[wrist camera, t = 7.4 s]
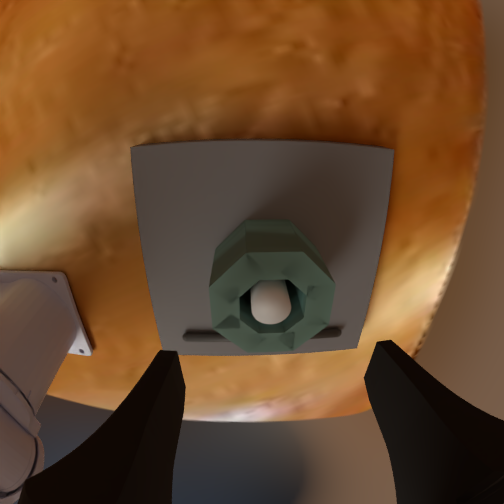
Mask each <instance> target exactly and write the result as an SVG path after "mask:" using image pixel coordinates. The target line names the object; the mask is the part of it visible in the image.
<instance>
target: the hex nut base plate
mask: <svg viewBox="0 0 504 504" xmlns="http://www.w3.org/2000/svg"><path fill="white" fill-rule="evenodd" d="M130 148H131V162H132V174H133V184H134V194H135V203H136V211H137V219H138V226H139V233H140V240H141V246H142V252H143V258H144V264H145V270H146V275H147V281H148V286H149V291H150V296H151V301H152V306H153V310H154V315H155V319H156V324H157V328H158V332H159V336H160V340H161V344H162V348H163V350H170V351H177V352H178V355H208V356H242V355H277V354H296V353H311V352H323V351H335V350H345V349H354V348H357V346H358V342H359V339H360V335H361V332H362V328H363V325H364V321H365V317H366V313H367V309H368V306H369V302H370V297H371V293H372V289H373V285H374V280H375V276H376V271H377V266H378V261H379V256H380V251H381V246H382V240H383V235H384V229H385V223H386V216H387V210H388V203H389V195H390V187H391V179H392V169H393V159H394V150H393V149H389V148H386V147H381V146H373V145H364V144H354V143H343V142H330V141H315V140H295V139H209V140H189V141H174V142H161V143H150V144H140V145H137V146H133V147H130ZM268 219H289V220H290V221H291V222H292V223H293V224H294V225H295V226H296V227H297V228H298V229H299V230H300V231H301V232H302V233H303V234H304V235H305V236H306V237H307V238H308V239H309V240H310V241H311V242H312V243H313V244H314V245H315V246H316V248H317V250H318V252H319V253H320V255H321V257H322V259H323V261H324V263H325V265H326V267H327V268H328V270H329V272H330V274H331V276H332V278H333V280H334V282H335V284H336V287H335V293H334V299H333V304H332V310H331V316H330V321H329V325H328V326H326V327H325V328H324V329H322V330H321V331H320V332H318V333H317V334H316V335H314V336H313V337H312V338H310V339H309V340H308V341H306V342H305V343H304V344H302V345H301V346H299V347H298V348H297V349H295V350H294V351H282V352H257V353H247V352H246V351H244V350H243V349H241V348H240V347H238V346H237V345H235V344H234V343H232V342H231V341H229V340H228V339H227V338H225V337H224V336H222V335H221V334H219V333H218V332H216V331H215V330H214V329H213V328H212V318H211V308H210V297H209V283H210V277H211V271H212V265H213V260H214V254H215V249H216V248H217V247H218V246H219V245H220V244H221V243H222V242H223V241H224V240H225V239H226V238H227V237H228V236H229V235H230V234H231V233H232V232H233V231H234V230H235V229H236V228H237V227H238V226H239V225H240V224H241V223H242V222H243V221H244V220H268ZM285 280H287V279H284V280H259V281H258V282H257V283H256V284H254V285H253V286H252V287H251V288H250V292H251V309H252V314H253V316H254V318H255V319H256V320H257V321H259V322H261V323H264V324H276V323H279V322H281V321H283V320H285V319H286V318H287V317H288V315H289V314H290V311H291V303H290V299H289V295H288V291H287V287H286V283H285Z"/></svg>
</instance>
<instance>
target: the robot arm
mask: <svg viewBox="0 0 504 504" xmlns="http://www.w3.org/2000/svg"><path fill="white" fill-rule="evenodd" d="M54 277H55V278H56V279H57V280H56V279H55V278H54ZM67 353H73V354H79V355H86V356H91V355H92V353H93V349H92V347H91V345H90V342H89V340H88V337H87V335H86V332H85V330H84V327H83V324H82V322H81V319H80V316H79V314H78V311H77V308H76V305H75V302H74V299H73V296H72V293H71V290H70V287H69V284H68V280H67V277H66V275H65V274H64V273H62V272H50V271H12V270H0V504H13V503H14V502H15V501H16V500H18V499H19V501H18V504H172V480H173V467H174V460H175V454H176V449H177V444H178V439H179V433H180V428H181V423H182V418H183V413H184V402H185V389H186V387H185V383H184V378H183V374H182V370H181V366H180V361H179V357H178V352H177V351H170V350H160V351H159V352H158V353H157V355H156V356H155V358H154V359H153V361H152V362H151V364H150V365H149V367H148V368H147V370H146V371H145V373H144V374H143V375H142V377H141V378H140V380H139V381H138V382H137V384H136V385H135V386H134V388H133V389H132V390H131V392H130V393H129V394H128V396H127V397H126V398H125V399H124V401H123V402H122V403H121V404H120V405H119V407H118V408H117V409H116V410H115V411H114V413H113V414H112V415H111V416H110V417H109V418H108V419H107V420H106V422H105V423H103V424H102V425H101V427H99V428H98V429H97V430H96V431H95V432H94V433H93V434H92V435H91V436H90V437H89V438H88V439H87V440H85V441H84V442H83V443H82V444H81V445H80V446H79V447H77V448H76V449H75V450H73V451H72V452H71V453H69V454H68V455H66V456H65V457H64V458H62V459H61V460H59V461H58V462H56V463H55V464H53V465H52V466H50V467H49V468H47V469H45V470H43V465H44V449H43V445H42V442H41V440H40V439H39V437H38V436H37V434H38V431H39V429H40V426H41V424H40V423H39V422H38V421H37V420H36V418H35V415H36V413H37V411H38V409H39V407H40V405H41V403H42V401H43V399H44V397H45V395H46V393H47V391H48V389H49V387H50V385H51V383H52V381H53V379H54V377H55V375H56V373H57V372H58V370H59V368H60V366H61V364H62V362H63V361H64V359H65V357H66V355H67ZM364 380H365V385H366V389H367V393H368V397H369V401H370V403H371V406H372V409H373V411H374V414H375V416H376V419H377V422H378V424H379V427H380V430H381V432H382V435H383V438H384V440H385V443H386V446H387V449H388V453H389V457H390V461H391V466H392V471H393V476H394V482H395V489H396V497H397V504H504V421H503V420H501V419H498V418H496V417H494V416H492V415H490V414H488V413H486V412H484V411H482V410H480V409H478V408H476V407H475V406H473V405H471V404H470V403H468V402H467V401H465V400H464V399H462V398H460V397H459V396H457V395H456V394H455V393H453V392H452V391H450V390H449V389H448V388H446V387H445V386H444V385H443V384H441V383H440V382H439V381H438V380H436V379H435V378H434V377H433V376H432V375H430V374H429V373H428V372H427V371H426V370H424V369H423V368H422V367H421V366H420V365H419V364H418V363H417V362H416V361H414V360H413V359H412V358H411V357H410V356H409V355H408V354H407V353H405V352H404V351H403V350H402V349H401V348H400V347H399V346H398V345H396V344H395V343H394V342H393V341H392V340H386V341H379V342H377V343H376V346H375V349H374V352H373V354H372V357H371V360H370V363H369V365H368V368H367V371H366V373H365V376H364Z"/></svg>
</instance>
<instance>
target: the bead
mask: <svg viewBox="0 0 504 504" xmlns="http://www.w3.org/2000/svg"><path fill="white" fill-rule="evenodd" d="M284 279H287V280H285V283H286V287H287V291H288V295H289V299H290V303H291V311H290V314H289V315H288V317H287V318H286V319H285V320H283V321H281V322H279V323H276V324H264V323H261V322H259V321H257V320H256V319H255V318H254V316H253V314H252V309H251V292H250V288H251V287H252V286H253V285H254V284H256V283H257V282H258V281H259V280H284ZM335 287H336V284H335V282H334V280H333V278H332V276H331V274H330V272H329V270H328V268H327V267H326V265H325V263H324V261H323V259H322V257H321V255H320V253H319V252H318V250H317V248H316V246H315V245H314V244H313V243H312V242H311V241H310V240H309V239H308V238H307V237H306V236H305V235H304V234H303V233H302V232H301V231H300V230H299V229H298V228H297V227H296V226H295V225H294V224H293V223H292V222H291V221H290V220H289V219H268V220H244V221H243V222H242V223H241V224H240V225H239V226H238V227H237V228H236V229H235V230H234V231H233V232H232V233H231V234H230V235H229V236H228V237H227V238H226V239H225V240H224V241H223V242H222V243H221V244H220V245H219V246H218V247H217V248H216V249H215V254H214V260H213V265H212V271H211V277H210V283H209V297H210V308H211V318H212V328H213V329H214V330H215V331H216V332H218V333H219V334H221V335H222V336H224V337H225V338H227V339H228V340H229V341H231V342H232V343H234V344H235V345H237V346H238V347H240V348H241V349H243V350H244V351H246V352H247V353H257V352H282V351H294V350H295V349H297V348H298V347H299V346H301V345H302V344H304V343H305V342H306V341H308V340H309V339H310V338H312V337H313V336H314V335H316V334H317V333H318V332H320V331H321V330H322V329H324V328H325V327H326V326H328V325H329V321H330V316H331V310H332V304H333V299H334V293H335Z"/></svg>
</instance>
